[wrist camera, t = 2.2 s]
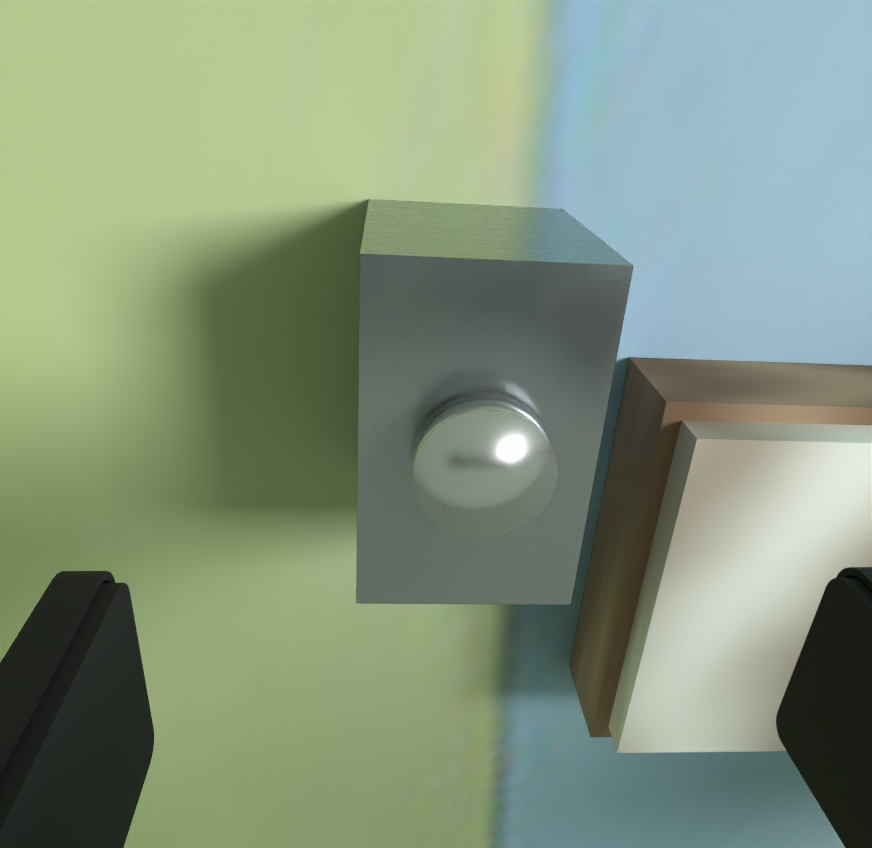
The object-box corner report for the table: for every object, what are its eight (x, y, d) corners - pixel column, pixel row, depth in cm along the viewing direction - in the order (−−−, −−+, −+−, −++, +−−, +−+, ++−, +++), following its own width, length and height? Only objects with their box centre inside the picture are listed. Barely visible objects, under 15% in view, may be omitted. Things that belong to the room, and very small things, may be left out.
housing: (562, 208, 18) (651, 280, 12) (526, 473, 22) (580, 635, 16) (369, 198, 18) (357, 268, 12) (364, 470, 21) (354, 634, 15)
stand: (1081, 373, 21) (1221, 434, 18) (932, 666, 27) (1016, 759, 23) (629, 357, 20) (681, 419, 17) (569, 666, 25) (598, 764, 22)
